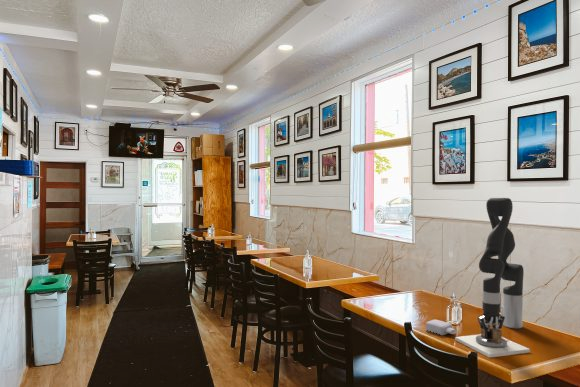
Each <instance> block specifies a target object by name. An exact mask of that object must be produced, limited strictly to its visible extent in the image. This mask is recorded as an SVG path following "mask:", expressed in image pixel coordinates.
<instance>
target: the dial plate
mask: <svg viewBox="0 0 580 387" xmlns="http://www.w3.org/2000/svg"><path fill="white" fill-rule="evenodd" d="M478 335H481V333H480V334H471V335H462V336H455V337H454V339H455V342H458V343H460V344H461V345H464V346H466V347H468V348H469V349H472V350H473V351H475V352H477V353H479V354H481V355H483V356H485V357H487V358H488V359H489V358H496V357H503V356H511V355H521V354H527V353H529V354H530V353H531V350H530V348H529V347H526V346H524V345H521V344H519V343H516V342H514V341H511V340H510V339H508V338H505V337H504V336H502V338H503V339H505V340H506V341H507V346H506V347H503V348H493V347H487V346H483V345H481V344H479V343H477V342H476V336H478Z"/></svg>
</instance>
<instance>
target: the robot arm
mask: <svg viewBox="0 0 580 387" xmlns="http://www.w3.org/2000/svg"><path fill="white" fill-rule="evenodd" d="M513 207H514V206H513V201H512V199H511V198H509V197H489V198H488V199H487V200H486V212H487V215H488V219H489V222H490V225H491V229H492V230H491V231H490V233H489V234H488V237H487V240H486V246H485V250H484V252H483V254H482V256H481V258H480V260H479V263H478V268H479V270H480V272H482V273H484V274H493V275H494V277H485V278H484V279H483V283H482V287H483V288H482V299H481V300H482V304H481V306H482V307H481V308H482V312H483V313H482V316H480V317H479V316H478V317H477V320H478V324H479V327H480V330H481V329H483V330H485V338H486V339H490V327H493V328H496V329H498V330H501V329H502V328H503V326H504V327H506V328H509V329H510V328H511V329H522V328H523V300H524V299H523V297H524V296H523V294H524V293H523V289H524V288H523V287H524V276H525V275H524V274H525V273H524V267H523V265H522V264H517V263H511V262H507V260H508V258H509V256H510V255H511V254H512V253H513V252H514V250H515V247H516V242H515V236H514V233H513V231H511V229H510V228H509V227H508V226H509V224H510V221H511V217H512V213H513ZM499 217H501V218H499ZM494 257H497V258H494ZM501 280H504V281H509V282H514V284H513V285H508V286H504V287H503V288H502V306H501ZM500 313H501V314H500ZM487 326H488V327H487Z"/></svg>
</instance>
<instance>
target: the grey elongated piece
mask: <svg viewBox="0 0 580 387" xmlns="http://www.w3.org/2000/svg"><path fill="white" fill-rule="evenodd" d="M426 330H428V331H427V332H430V331H431V332H430V333H433V332H434V333H433V334H436V333H437V334H436V335H439V334H440V335H439V336H445V335H448V334H449V335H454V334H457V333H459V331H457V329H455V328H453V325H452V323H450V322H446V321H443V320H439V319H431V320H428V321H426V322H425V331H426Z"/></svg>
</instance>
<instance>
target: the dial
mask: <svg viewBox="0 0 580 387" xmlns="http://www.w3.org/2000/svg"><path fill="white" fill-rule="evenodd" d="M487 327H488V326H487ZM502 333H503V331H502V330H501V329H496V328H493V327H492V326H491V327H490V339H486V338H485V330H483V329H481V328H480V334H481V335H479V334H477V335H478V336H476V342H477V343H479V344H481V345H483V346H487V347H493V348H503V347H506V346H507V341H506V340H505V339H506V338H505V339H503V338H504V337H503V336H502ZM502 337H503V338H502Z"/></svg>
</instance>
